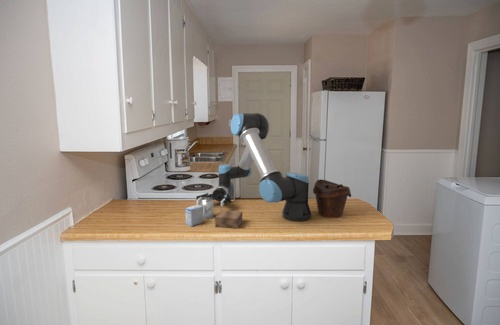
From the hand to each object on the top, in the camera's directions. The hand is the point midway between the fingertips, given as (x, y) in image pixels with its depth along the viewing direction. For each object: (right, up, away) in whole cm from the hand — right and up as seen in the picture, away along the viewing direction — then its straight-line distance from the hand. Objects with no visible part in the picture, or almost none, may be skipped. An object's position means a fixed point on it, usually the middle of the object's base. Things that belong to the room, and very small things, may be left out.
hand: (209, 203), depth 186 cm
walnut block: (+12, -8, -15) cm, 21 cm away
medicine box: (-6, -9, -14) cm, 18 cm away
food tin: (-1, -7, -4) cm, 8 cm away
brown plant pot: (+66, -6, +1) cm, 66 cm away
